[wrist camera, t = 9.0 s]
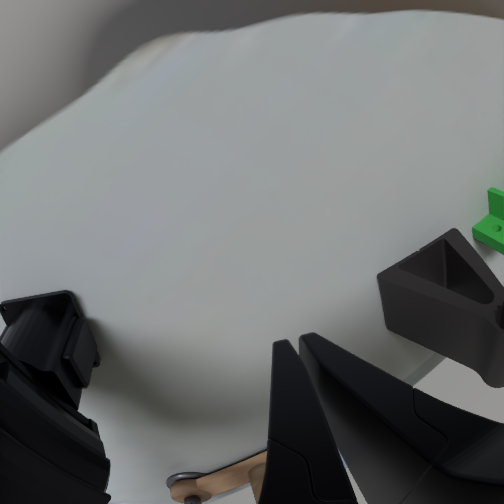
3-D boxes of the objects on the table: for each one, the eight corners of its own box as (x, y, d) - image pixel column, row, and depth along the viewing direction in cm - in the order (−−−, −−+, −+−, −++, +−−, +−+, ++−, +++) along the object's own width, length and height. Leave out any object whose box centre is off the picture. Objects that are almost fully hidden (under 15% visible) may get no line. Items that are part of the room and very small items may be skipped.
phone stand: (384, 326, 26) (466, 420, 16) (375, 274, 24) (479, 373, 13) (456, 279, 27) (542, 347, 16) (454, 227, 24) (560, 290, 13)
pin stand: (173, 492, 31) (177, 522, 27) (160, 475, 29) (163, 509, 25) (216, 486, 32) (222, 517, 28) (207, 469, 30) (213, 503, 26)
